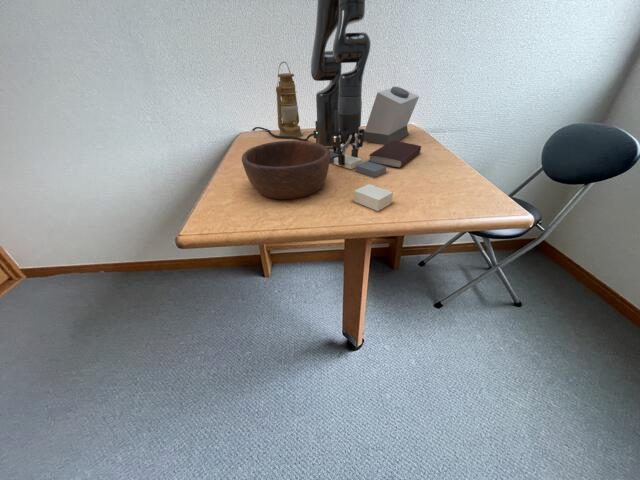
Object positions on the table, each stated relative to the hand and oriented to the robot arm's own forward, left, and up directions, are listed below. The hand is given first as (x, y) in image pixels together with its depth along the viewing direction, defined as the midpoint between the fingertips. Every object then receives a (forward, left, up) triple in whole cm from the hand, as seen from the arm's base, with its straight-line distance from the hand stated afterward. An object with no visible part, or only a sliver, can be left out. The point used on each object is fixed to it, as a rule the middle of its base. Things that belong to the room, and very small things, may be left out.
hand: (347, 162), depth 97 cm
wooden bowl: (-1, -26, -1) cm, 26 cm away
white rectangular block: (+24, -17, -1) cm, 29 cm away
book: (+8, +17, -1) cm, 19 cm away
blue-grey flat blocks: (0, 0, -1) cm, 1 cm away
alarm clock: (-10, +38, -1) cm, 39 cm away
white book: (0, 0, -1) cm, 1 cm away
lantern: (-48, +12, -1) cm, 49 cm away
